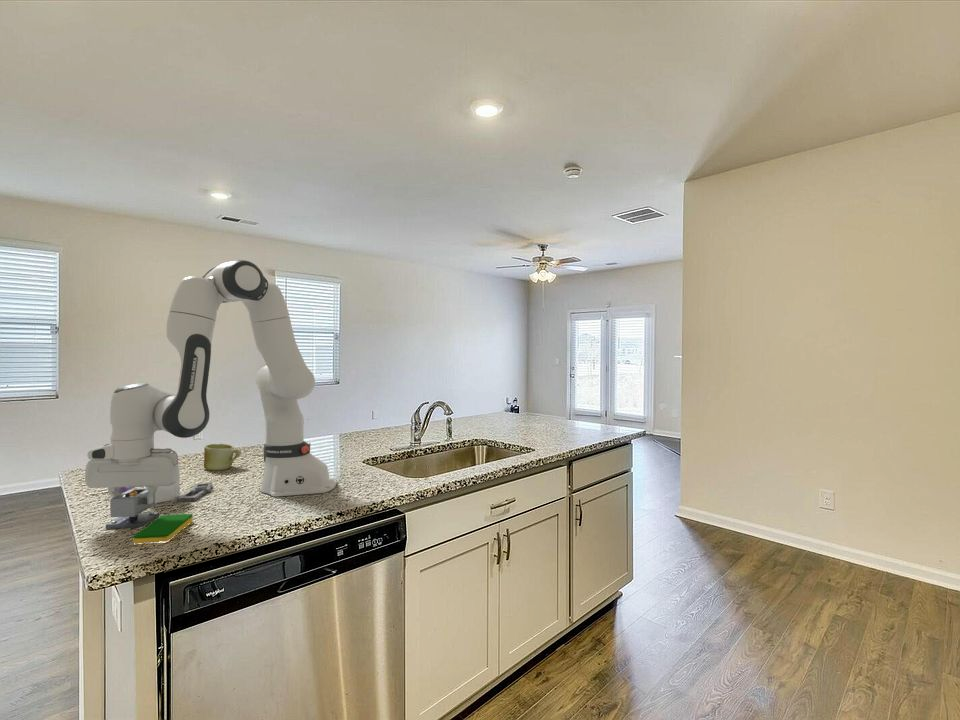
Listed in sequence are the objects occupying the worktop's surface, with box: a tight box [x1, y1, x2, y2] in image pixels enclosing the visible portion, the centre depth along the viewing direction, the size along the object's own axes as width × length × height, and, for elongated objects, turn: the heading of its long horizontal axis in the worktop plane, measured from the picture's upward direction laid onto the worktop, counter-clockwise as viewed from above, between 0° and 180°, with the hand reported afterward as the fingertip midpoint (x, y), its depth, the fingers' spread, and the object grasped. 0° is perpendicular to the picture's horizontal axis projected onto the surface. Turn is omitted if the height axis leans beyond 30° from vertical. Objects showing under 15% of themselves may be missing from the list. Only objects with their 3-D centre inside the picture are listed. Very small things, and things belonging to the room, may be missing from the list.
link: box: [109, 487, 156, 518], centre depth 121 cm, size 5×9×4 cm, turn 7°
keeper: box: [105, 491, 160, 529], centre depth 121 cm, size 8×8×8 cm
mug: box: [203, 443, 242, 471], centre depth 174 cm, size 12×10×10 cm
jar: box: [142, 460, 181, 504], centre depth 139 cm, size 9×8×12 cm
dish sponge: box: [132, 513, 194, 543], centre depth 115 cm, size 7×14×2 cm, turn 10°
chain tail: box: [176, 482, 213, 502], centre depth 145 cm, size 7×16×2 cm, turn 7°
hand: (133, 503), depth 121 cm, fingers closed on link, 5 cm apart
